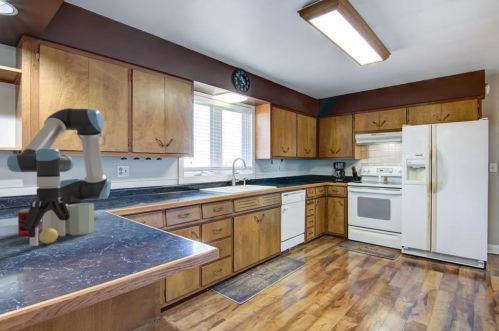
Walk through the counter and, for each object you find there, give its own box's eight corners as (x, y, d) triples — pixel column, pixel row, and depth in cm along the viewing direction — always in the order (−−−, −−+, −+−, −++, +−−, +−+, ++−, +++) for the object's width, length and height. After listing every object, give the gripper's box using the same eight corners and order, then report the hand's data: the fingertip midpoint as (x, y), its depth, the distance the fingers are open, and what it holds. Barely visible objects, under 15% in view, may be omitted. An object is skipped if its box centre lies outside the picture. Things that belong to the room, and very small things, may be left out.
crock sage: (78, 229, 128) (78, 203, 128) (97, 230, 127) (97, 203, 127) (63, 235, 118) (63, 206, 118) (84, 235, 118) (84, 206, 118)
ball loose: (47, 241, 109) (47, 226, 109) (61, 241, 109) (61, 226, 109) (35, 245, 103) (35, 230, 103) (49, 245, 103) (49, 230, 103)
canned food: (37, 230, 127) (37, 207, 127) (42, 233, 121) (42, 209, 121) (16, 234, 121) (16, 209, 121) (20, 237, 116) (20, 211, 116)
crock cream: (53, 231, 125) (53, 203, 125) (73, 231, 125) (73, 203, 125) (36, 236, 116) (36, 207, 116) (57, 237, 115) (57, 207, 115)
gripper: (63, 184, 119) (63, 232, 119) (9, 190, 94) (10, 250, 94) (79, 184, 118) (79, 232, 118) (30, 190, 93) (30, 250, 93)
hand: (48, 240), depth 106 cm, fingers open, 13 cm apart
